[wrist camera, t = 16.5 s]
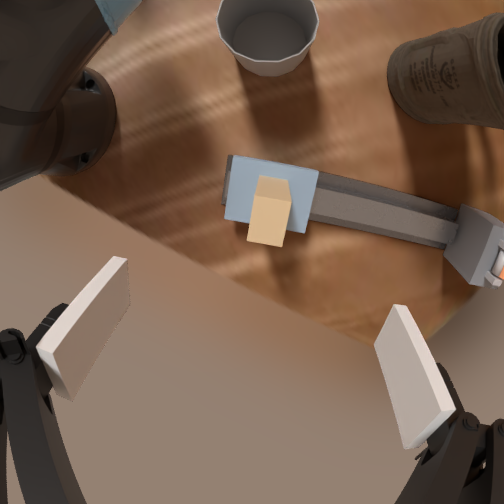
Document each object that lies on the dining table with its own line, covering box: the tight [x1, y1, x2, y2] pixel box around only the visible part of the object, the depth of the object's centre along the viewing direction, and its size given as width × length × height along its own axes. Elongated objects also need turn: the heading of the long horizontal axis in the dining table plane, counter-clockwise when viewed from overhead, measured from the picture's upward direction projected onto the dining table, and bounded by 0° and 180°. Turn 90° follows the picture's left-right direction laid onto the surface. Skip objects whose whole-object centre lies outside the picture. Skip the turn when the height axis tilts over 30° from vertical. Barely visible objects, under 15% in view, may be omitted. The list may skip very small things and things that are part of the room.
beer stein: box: [387, 13, 504, 130], centre depth 19 cm, size 15×11×20 cm
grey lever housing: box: [443, 203, 504, 289], centre depth 31 cm, size 6×8×10 cm
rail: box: [221, 155, 459, 249], centre depth 35 cm, size 31×6×2 cm, turn 81°
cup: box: [216, 0, 319, 77], centre depth 24 cm, size 8×8×10 cm
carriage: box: [224, 155, 319, 247], centre depth 30 cm, size 9×7×11 cm
